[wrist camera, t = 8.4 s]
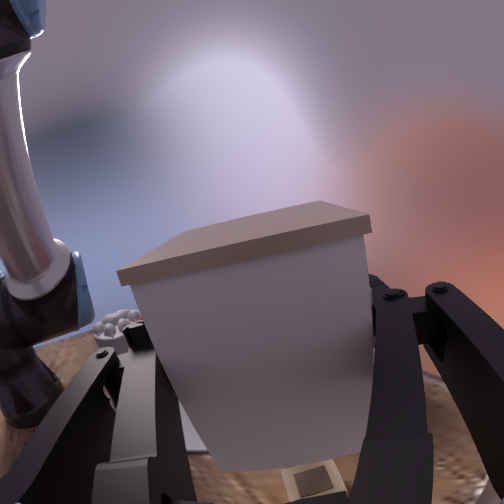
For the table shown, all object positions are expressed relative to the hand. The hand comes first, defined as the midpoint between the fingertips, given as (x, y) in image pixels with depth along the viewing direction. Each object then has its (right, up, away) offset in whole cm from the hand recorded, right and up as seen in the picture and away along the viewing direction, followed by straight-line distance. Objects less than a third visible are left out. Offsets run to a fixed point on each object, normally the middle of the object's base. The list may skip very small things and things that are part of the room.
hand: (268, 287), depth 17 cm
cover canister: (+1, -7, -4) cm, 8 cm away
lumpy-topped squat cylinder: (-24, -18, +30) cm, 43 cm away
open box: (+4, -18, -2) cm, 19 cm away
